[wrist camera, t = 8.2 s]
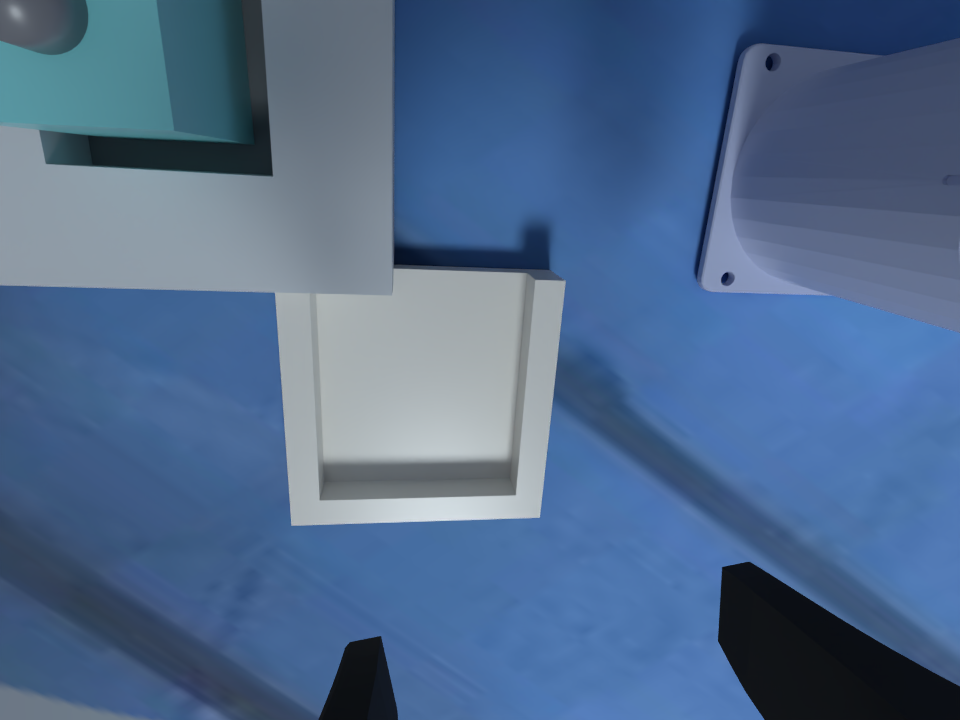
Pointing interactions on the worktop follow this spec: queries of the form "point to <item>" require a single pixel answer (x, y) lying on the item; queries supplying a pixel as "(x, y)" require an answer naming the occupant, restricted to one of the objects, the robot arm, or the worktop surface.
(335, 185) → the port
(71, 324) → the worktop surface
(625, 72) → the worktop surface
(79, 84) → the plug
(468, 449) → the white square tray
